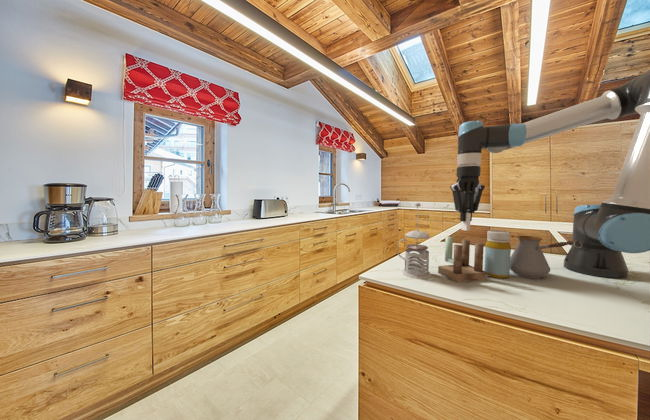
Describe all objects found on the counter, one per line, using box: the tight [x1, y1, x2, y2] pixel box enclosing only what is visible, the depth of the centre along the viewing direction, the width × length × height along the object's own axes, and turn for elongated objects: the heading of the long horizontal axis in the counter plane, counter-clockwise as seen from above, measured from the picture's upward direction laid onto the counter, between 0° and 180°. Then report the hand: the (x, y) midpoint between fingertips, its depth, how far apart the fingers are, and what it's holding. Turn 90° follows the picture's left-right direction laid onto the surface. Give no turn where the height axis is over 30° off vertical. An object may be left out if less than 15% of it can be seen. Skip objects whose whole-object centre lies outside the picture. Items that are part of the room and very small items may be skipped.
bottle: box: [483, 229, 512, 279], centre depth 82 cm, size 7×7×15 cm
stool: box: [437, 239, 487, 283], centre depth 82 cm, size 11×9×12 cm
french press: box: [396, 202, 432, 280], centre depth 85 cm, size 10×12×25 cm
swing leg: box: [444, 236, 454, 265], centre depth 88 cm, size 7×2×9 cm, turn 11°
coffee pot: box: [510, 235, 582, 279], centre depth 78 cm, size 21×12×15 cm, turn 3°
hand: (465, 229), depth 91 cm, fingers closed
